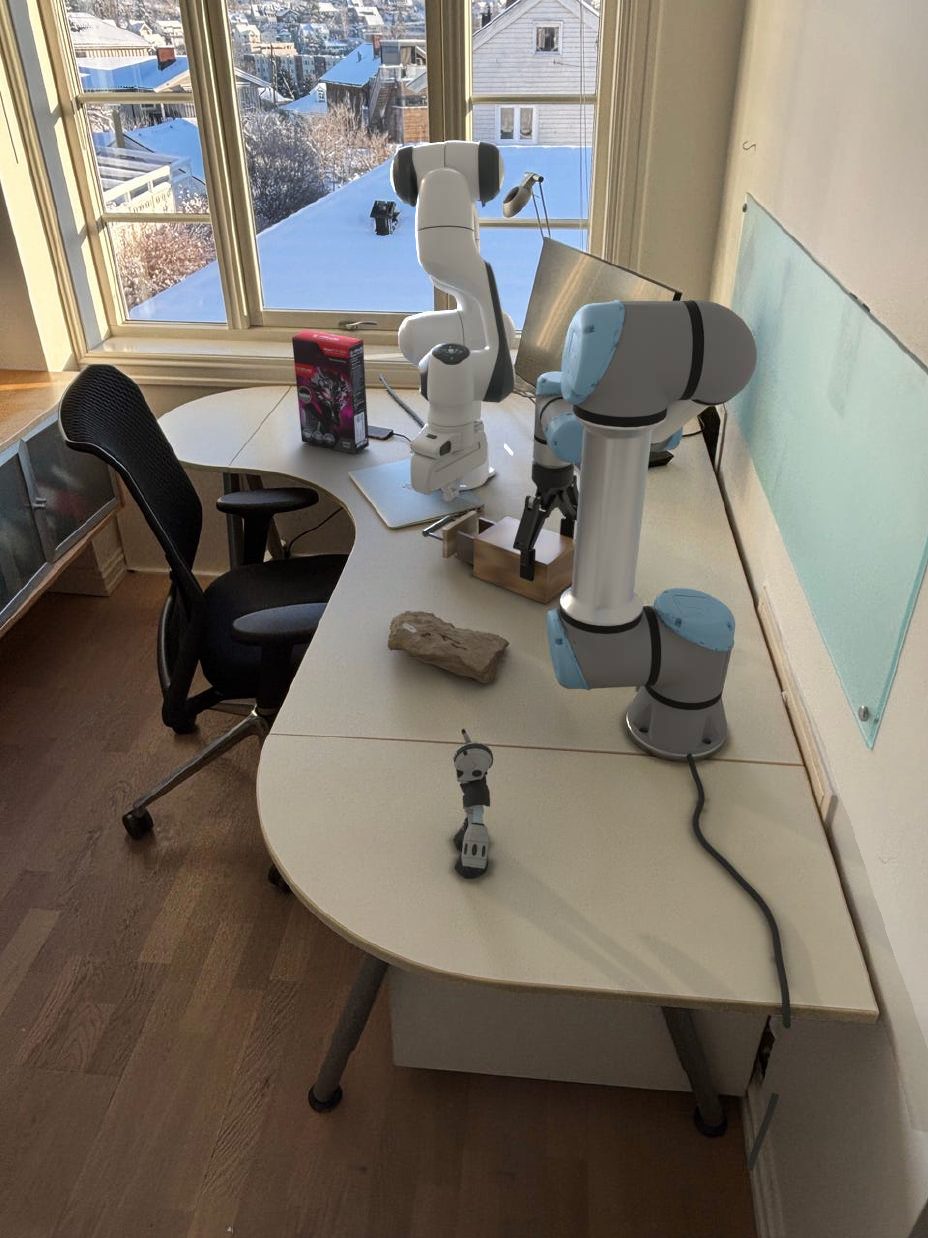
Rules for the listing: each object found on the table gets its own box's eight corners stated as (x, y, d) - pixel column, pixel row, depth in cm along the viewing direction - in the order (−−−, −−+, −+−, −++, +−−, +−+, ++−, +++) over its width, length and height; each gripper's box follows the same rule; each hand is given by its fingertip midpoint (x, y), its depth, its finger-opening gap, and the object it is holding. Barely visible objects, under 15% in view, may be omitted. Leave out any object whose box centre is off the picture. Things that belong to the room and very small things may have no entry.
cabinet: (473, 575, 181) (473, 537, 176) (506, 553, 189) (507, 515, 184) (545, 604, 173) (547, 564, 168) (576, 579, 180) (579, 540, 176)
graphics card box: (299, 442, 234) (289, 335, 219) (315, 433, 239) (306, 328, 224) (356, 456, 228) (349, 346, 213) (371, 446, 233) (365, 338, 218)
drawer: (420, 548, 188) (419, 520, 184) (450, 530, 195) (450, 502, 191) (505, 582, 177) (506, 552, 174) (534, 561, 184) (536, 532, 180)
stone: (364, 657, 153) (371, 625, 150) (394, 627, 166) (401, 597, 164) (483, 699, 149) (492, 667, 147) (504, 665, 163) (513, 635, 160)
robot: (495, 914, 114) (500, 797, 103) (456, 915, 114) (456, 798, 103) (484, 799, 130) (487, 688, 119) (450, 801, 130) (450, 689, 119)
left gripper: (470, 412, 184) (469, 476, 192) (404, 445, 170) (406, 512, 178) (496, 420, 181) (494, 484, 189) (430, 453, 167) (431, 521, 175)
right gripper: (572, 434, 174) (564, 533, 186) (495, 478, 157) (492, 584, 169) (606, 443, 170) (596, 544, 182) (532, 490, 154) (526, 598, 165)
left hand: (450, 498), depth 183 cm, fingers closed
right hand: (546, 564), depth 176 cm, fingers open, 13 cm apart
